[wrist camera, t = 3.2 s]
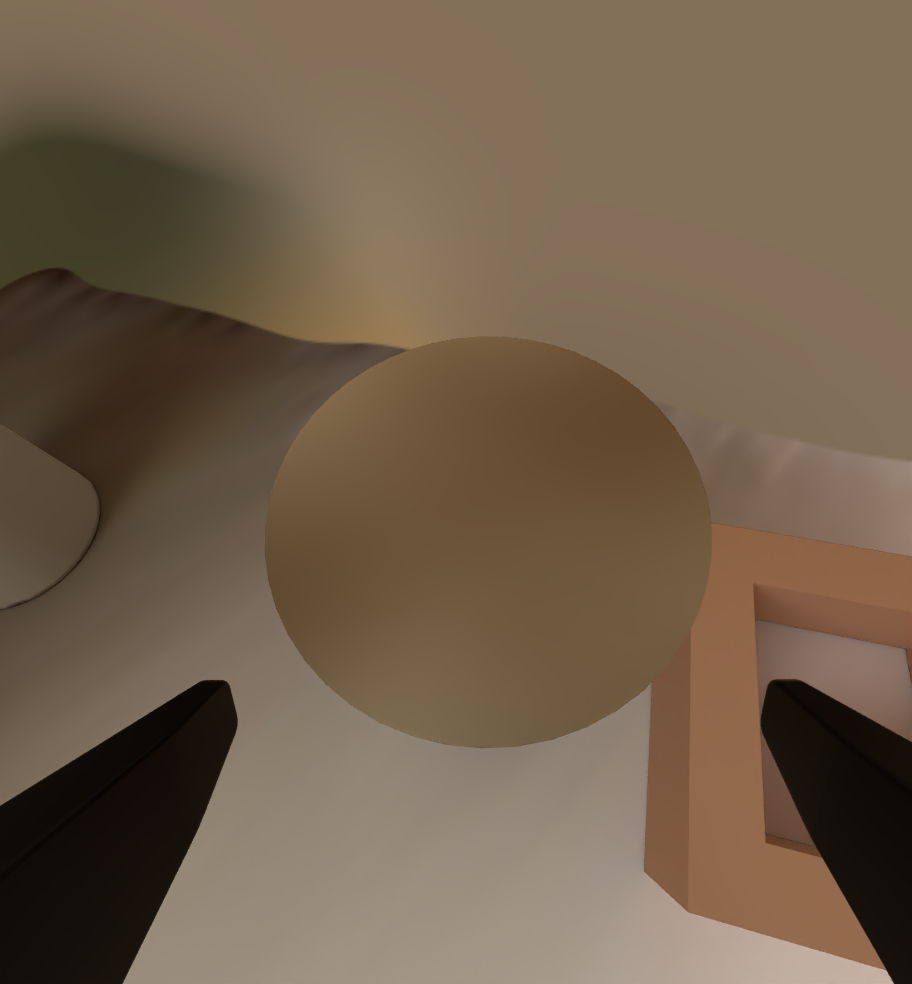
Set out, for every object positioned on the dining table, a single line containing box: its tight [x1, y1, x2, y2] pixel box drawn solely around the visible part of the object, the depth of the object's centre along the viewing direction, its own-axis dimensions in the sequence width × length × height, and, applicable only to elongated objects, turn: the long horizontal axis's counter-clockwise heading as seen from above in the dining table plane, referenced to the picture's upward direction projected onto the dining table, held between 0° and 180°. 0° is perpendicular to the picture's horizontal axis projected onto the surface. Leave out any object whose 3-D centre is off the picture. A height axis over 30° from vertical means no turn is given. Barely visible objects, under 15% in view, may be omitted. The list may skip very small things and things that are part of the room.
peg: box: [265, 337, 712, 748], centre depth 11 cm, size 5×5×13 cm
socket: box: [644, 523, 912, 970], centre depth 14 cm, size 10×10×4 cm
